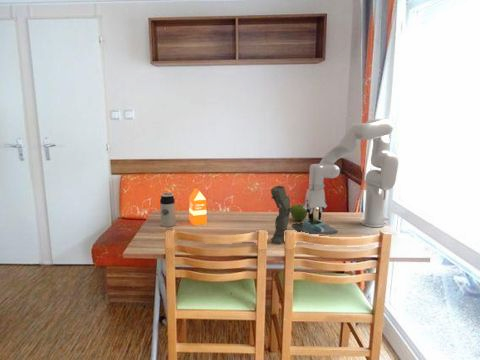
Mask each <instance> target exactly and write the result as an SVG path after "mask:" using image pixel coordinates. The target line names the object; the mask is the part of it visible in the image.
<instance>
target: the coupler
mask: <svg viewBox="0 0 480 360" xmlns="http://www.w3.org/2000/svg"><path fill="white" fill-rule="evenodd" d="M312 214H313V220H312V221H310V223H311V224H318V223H319V208H313V210H312Z"/></svg>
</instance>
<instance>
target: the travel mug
mask: <svg viewBox="0 0 480 360" xmlns="http://www.w3.org/2000/svg"><path fill="white" fill-rule="evenodd" d="M174 195H175V193H172V192H164V193H161V194H160V200H159V203H160V225H161V227H165V228H168V227H169V228H171V227H174V226H175V225H176V205H175V204H176V202H175V198H174V197H175V196H174Z"/></svg>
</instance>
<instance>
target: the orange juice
mask: <svg viewBox="0 0 480 360" xmlns="http://www.w3.org/2000/svg"><path fill="white" fill-rule="evenodd" d="M188 200H189V201H188V204H189V205H188V206H189V207H188V208H189V222H190V223H191V224H192V226H194V225H196V226H200V225H201V224H203V225H207V223H208V222H207V198H206V197H205V196H204V195H203V193H202V192H201V190H199V189H198V188H196V187H195V188H194V189H193V191H192V193H191V194H190V196H189V197H188Z"/></svg>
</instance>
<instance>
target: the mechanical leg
mask: <svg viewBox="0 0 480 360" xmlns="http://www.w3.org/2000/svg"><path fill="white" fill-rule="evenodd" d="M270 192H271V198H272V199H273V201H274V203H275V204H276V207H277V209H278V215H277V216H276V218H275V220H274V222H275V231H274V234H273V235H272V237H271V239H270V243H272V244H276V245H282V244H284V231H285V230H287V231H288V226H289V225H288V224H289V221H290V214H291V213H290V209H291V199H290V196H289V195H287V192H286V188H285V187H284V186H283V185H276V186H274V187H273V188H271V189H270Z"/></svg>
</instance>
